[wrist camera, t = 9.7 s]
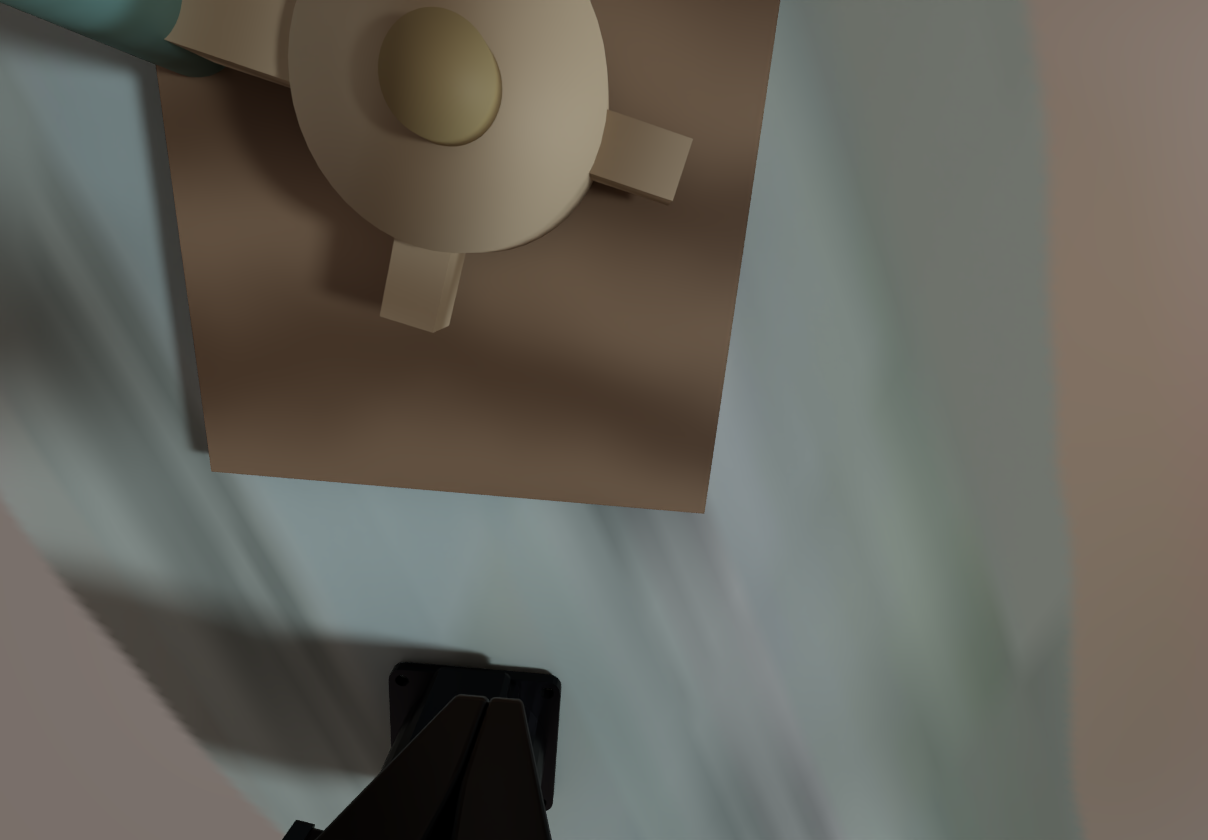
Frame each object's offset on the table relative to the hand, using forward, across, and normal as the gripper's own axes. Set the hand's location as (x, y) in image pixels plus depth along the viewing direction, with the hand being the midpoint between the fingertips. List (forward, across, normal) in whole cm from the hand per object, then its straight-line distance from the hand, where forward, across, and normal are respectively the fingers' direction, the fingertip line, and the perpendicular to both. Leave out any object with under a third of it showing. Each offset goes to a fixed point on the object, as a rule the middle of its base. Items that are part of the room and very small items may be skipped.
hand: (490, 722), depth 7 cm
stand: (+12, +3, -8) cm, 15 cm away
